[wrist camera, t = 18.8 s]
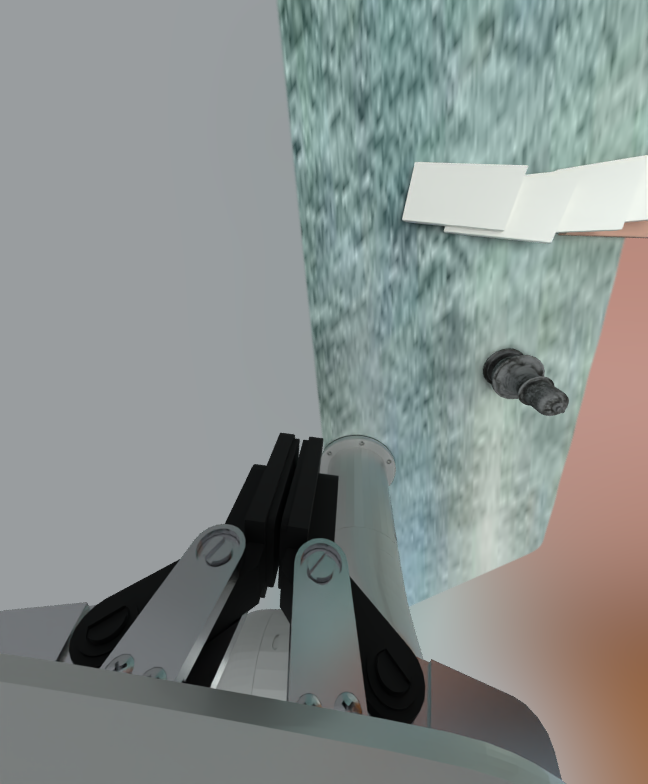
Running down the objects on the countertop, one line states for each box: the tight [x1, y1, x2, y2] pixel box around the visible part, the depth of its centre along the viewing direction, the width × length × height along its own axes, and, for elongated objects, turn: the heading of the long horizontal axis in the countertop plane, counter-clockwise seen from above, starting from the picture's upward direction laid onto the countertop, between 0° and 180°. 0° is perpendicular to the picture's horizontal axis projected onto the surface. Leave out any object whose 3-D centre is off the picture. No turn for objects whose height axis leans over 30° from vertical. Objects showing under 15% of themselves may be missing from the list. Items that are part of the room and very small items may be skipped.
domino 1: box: [402, 162, 528, 232], centre depth 28 cm, size 5×2×10 cm
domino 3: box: [524, 161, 648, 233], centre depth 28 cm, size 5×2×10 cm
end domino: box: [559, 221, 648, 238], centre depth 29 cm, size 5×2×10 cm
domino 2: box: [444, 177, 579, 244], centre depth 28 cm, size 5×2×10 cm
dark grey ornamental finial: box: [483, 349, 569, 416], centre depth 33 cm, size 6×6×12 cm
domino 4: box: [556, 155, 648, 223], centre depth 27 cm, size 5×2×10 cm
